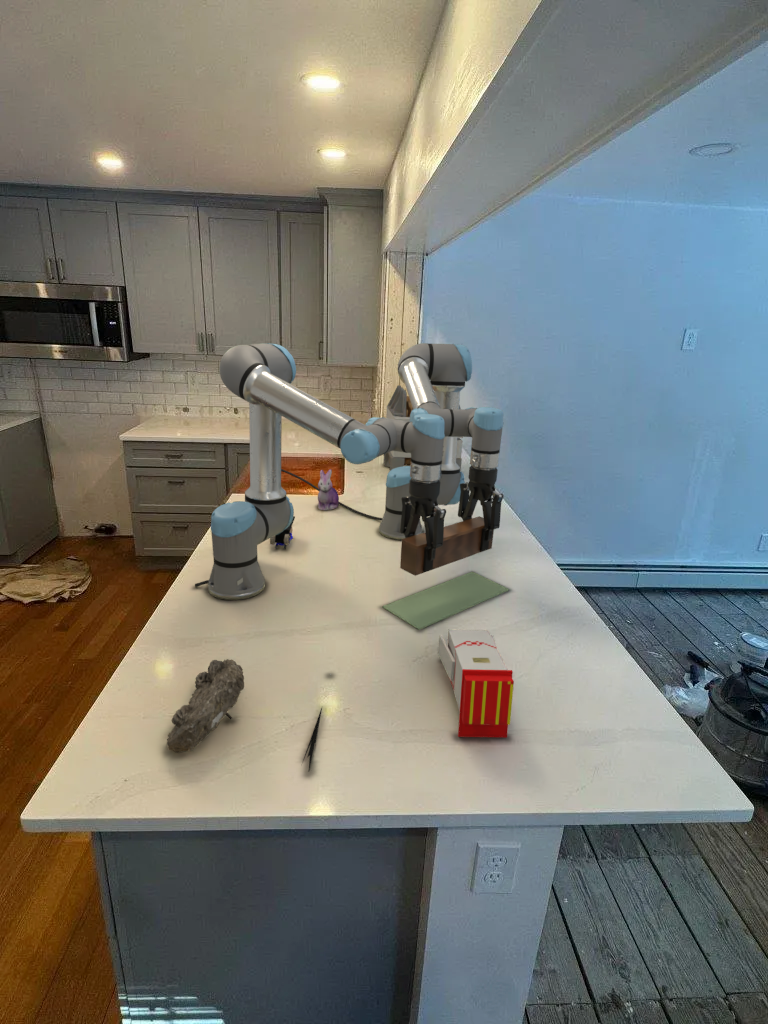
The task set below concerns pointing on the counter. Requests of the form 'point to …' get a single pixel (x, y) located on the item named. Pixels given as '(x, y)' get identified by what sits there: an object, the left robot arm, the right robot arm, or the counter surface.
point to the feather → (313, 740)
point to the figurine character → (283, 537)
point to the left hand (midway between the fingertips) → (419, 565)
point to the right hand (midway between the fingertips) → (475, 546)
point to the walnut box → (444, 546)
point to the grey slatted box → (401, 411)
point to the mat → (444, 600)
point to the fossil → (206, 705)
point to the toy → (478, 682)
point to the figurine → (327, 492)
